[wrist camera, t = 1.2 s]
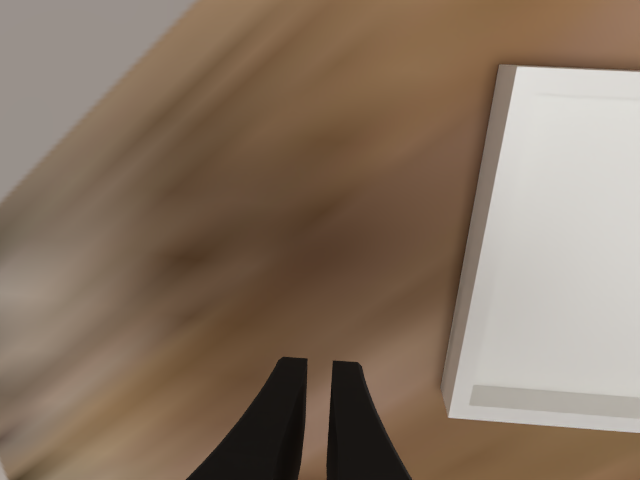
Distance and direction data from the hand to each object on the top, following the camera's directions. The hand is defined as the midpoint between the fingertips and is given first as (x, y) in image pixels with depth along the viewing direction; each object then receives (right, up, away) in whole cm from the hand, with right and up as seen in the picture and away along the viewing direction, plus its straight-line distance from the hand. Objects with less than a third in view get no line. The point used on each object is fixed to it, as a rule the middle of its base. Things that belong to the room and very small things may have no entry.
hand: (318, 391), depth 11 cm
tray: (+12, +3, +8) cm, 15 cm away
